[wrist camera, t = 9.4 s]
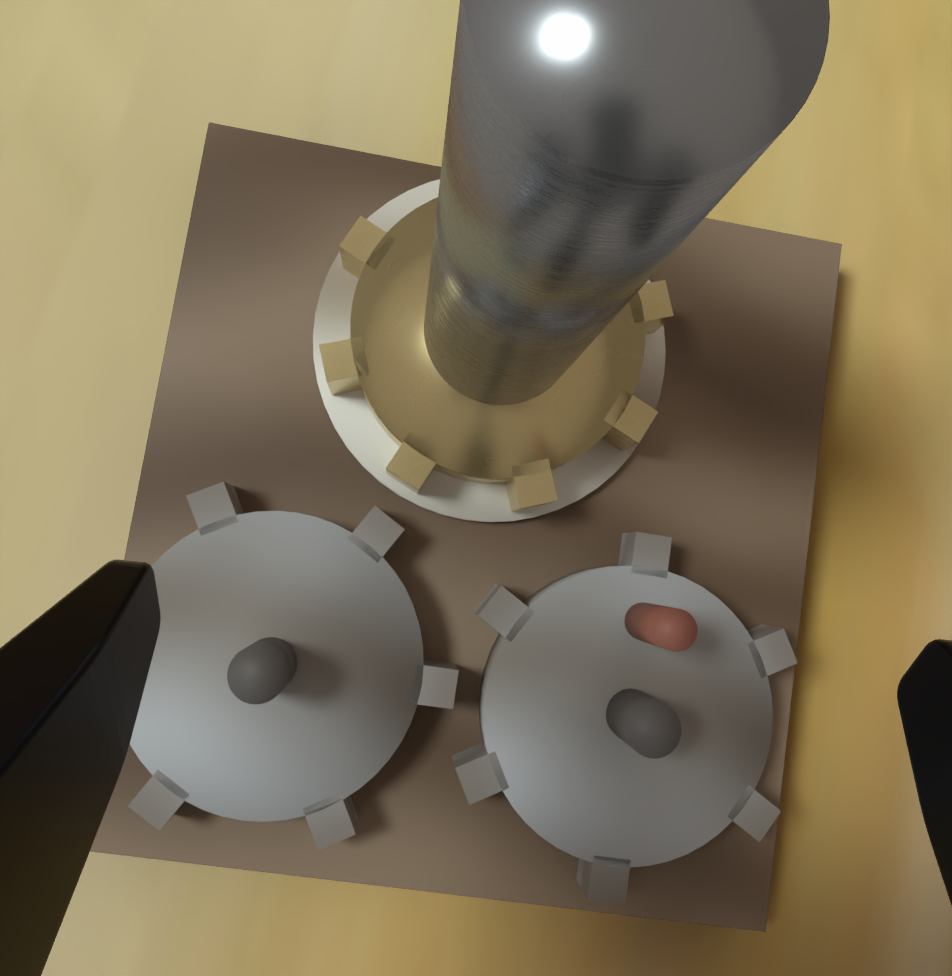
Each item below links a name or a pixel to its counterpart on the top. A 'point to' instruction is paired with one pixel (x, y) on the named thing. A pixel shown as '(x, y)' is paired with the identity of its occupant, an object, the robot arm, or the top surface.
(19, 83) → the top surface
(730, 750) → the gear board
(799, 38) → the gear with grey post
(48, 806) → the robot arm
